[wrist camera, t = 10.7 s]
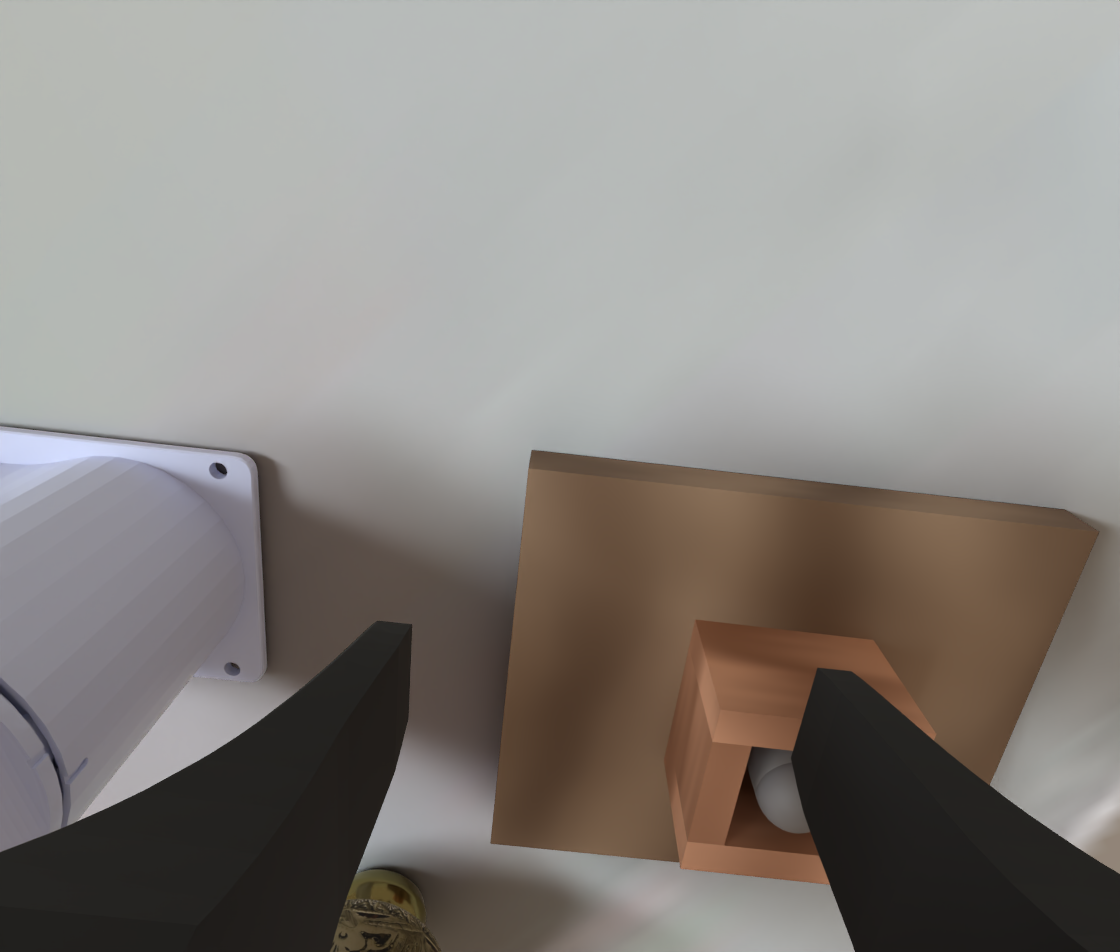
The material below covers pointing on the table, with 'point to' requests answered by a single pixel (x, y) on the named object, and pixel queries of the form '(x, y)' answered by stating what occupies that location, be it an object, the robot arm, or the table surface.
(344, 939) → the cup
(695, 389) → the table surface
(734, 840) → the hollow wooden block
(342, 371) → the table surface
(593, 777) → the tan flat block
